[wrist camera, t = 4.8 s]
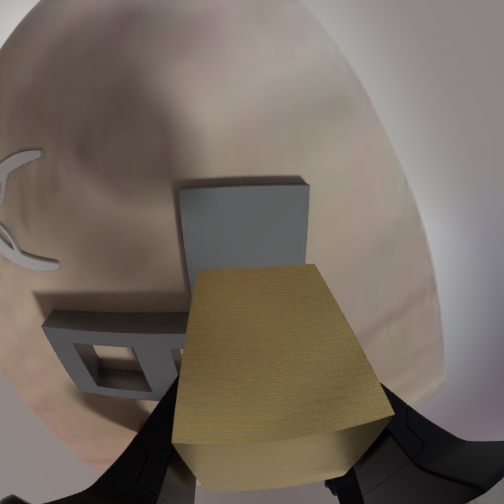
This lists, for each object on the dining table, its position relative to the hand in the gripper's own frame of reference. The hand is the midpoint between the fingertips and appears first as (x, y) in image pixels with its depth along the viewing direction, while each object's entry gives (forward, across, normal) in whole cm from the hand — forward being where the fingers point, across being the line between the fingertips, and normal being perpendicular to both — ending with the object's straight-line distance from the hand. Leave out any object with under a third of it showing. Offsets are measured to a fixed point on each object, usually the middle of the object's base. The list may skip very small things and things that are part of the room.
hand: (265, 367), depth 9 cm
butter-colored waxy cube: (+3, 0, 0) cm, 3 cm away
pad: (+10, 0, 0) cm, 10 cm away
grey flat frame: (+10, +8, +10) cm, 16 cm away
